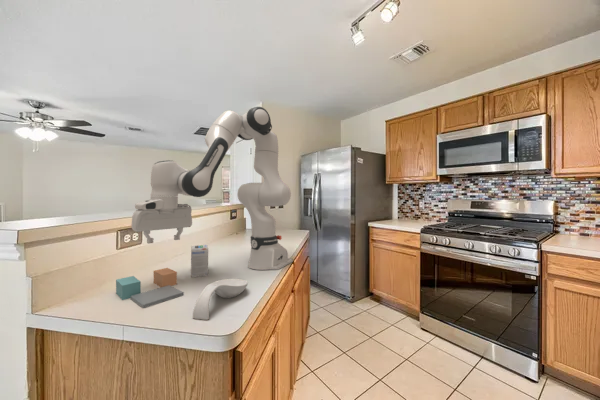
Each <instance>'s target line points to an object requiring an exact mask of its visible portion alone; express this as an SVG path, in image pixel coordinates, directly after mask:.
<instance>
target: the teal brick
mask: <svg viewBox="0 0 600 400" xmlns="http://www.w3.org/2000/svg"><path fill="white" fill-rule="evenodd" d="M141 285H142V284H141V280H139V279H138V278H137V277H135V276H134V275H132V276H126V277H121V278H116V279H115V287H116V288H115V294H116V295H117V296H118V297H119V298H120V299H121V300H122V301H126V300H129V299H130V296H132V295H136V294H140V293H142V291H141V287H142V286H141Z"/></svg>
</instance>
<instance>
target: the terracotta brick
mask: <svg viewBox="0 0 600 400" xmlns="http://www.w3.org/2000/svg"><path fill="white" fill-rule="evenodd" d="M153 284H155V285H156V286H158V288H161V287H164V286H168V285H170V286H172V287H174V286H176V285H178V272H177V271H175V270H174V269H171V268H169V267H164V268H160V269H156V270H153Z"/></svg>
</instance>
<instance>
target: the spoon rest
mask: <svg viewBox="0 0 600 400" xmlns="http://www.w3.org/2000/svg"><path fill="white" fill-rule="evenodd" d="M248 283H249V282H248V281H247V280H246V279H241V278H226V279H220V280H216V281H213V282H211V283H209V284H207V285H206V286H205V287H204V288H203V290H201V292H200V294H199V296H198V297H197V300H196V302H195V304H194V306H193V307H194V308H193V311H192V318H193V319H196V320H204V321H208V320H209V319H210V307H209V306H210V301H211V297H212V296H213V294H214V293H215V294H216V295H217V296H219V297H220V298H224V299H231V298H235V297H237V296H239V295H240V294H241V293H243V292H244V291H245V290H246V288H247V286H248Z"/></svg>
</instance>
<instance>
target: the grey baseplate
mask: <svg viewBox="0 0 600 400" xmlns="http://www.w3.org/2000/svg"><path fill="white" fill-rule="evenodd" d="M184 293H185V292H184V291H182V290H180V289H178V288H176V287H174V286H170V285H168V286H164V287H158V288H154V289H151V290H148V291H147V290H146V291H143V292H141V293H140V294H136V295H132V296H130V298H129V299H130V300H131V301H132V302H134V303H135V304H136V305H138V306H139V307H141V309H145V308H148V307H151V306H154V305H158V304H160V303H164V302H166V301H170V300H173V299H176V298H179V297H182V296H184Z"/></svg>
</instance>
